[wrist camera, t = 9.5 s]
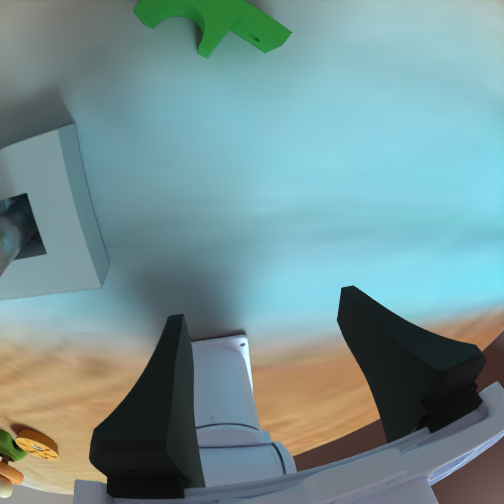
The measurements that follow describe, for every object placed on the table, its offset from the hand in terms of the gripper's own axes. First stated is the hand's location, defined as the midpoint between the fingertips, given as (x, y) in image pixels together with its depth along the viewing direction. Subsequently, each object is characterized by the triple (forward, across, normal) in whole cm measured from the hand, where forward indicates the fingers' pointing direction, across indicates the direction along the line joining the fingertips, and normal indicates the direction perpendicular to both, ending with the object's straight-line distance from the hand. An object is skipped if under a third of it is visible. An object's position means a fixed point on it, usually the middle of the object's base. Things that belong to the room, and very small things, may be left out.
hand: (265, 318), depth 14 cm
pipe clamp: (+11, +2, -15) cm, 18 cm away
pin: (+10, +16, -4) cm, 19 cm away
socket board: (+10, +16, -4) cm, 19 cm away
